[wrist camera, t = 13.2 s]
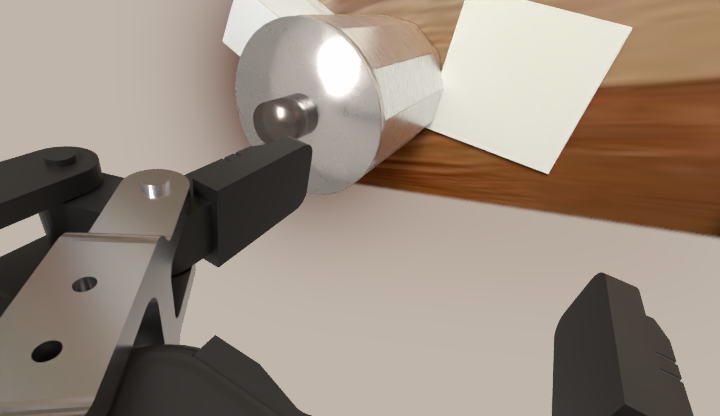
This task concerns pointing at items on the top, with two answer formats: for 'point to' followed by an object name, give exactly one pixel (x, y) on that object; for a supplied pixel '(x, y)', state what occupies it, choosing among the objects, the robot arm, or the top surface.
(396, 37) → the cover
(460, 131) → the mat
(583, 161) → the top surface
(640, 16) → the top surface
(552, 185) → the top surface
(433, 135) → the top surface
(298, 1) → the supplement box
